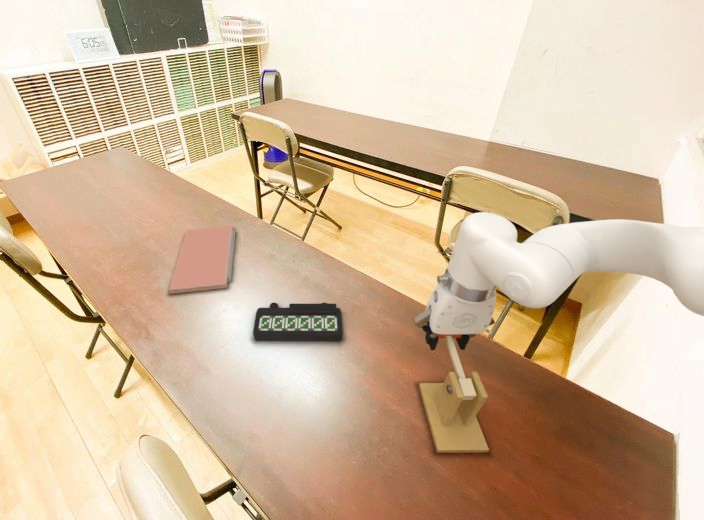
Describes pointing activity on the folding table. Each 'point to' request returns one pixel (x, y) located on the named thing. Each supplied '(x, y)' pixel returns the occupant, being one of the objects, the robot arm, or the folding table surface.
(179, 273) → the notebook
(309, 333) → the digital display
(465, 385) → the lever
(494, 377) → the folding table surface
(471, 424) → the bracket
